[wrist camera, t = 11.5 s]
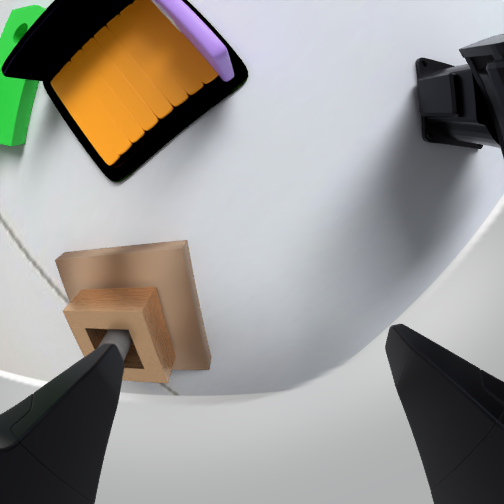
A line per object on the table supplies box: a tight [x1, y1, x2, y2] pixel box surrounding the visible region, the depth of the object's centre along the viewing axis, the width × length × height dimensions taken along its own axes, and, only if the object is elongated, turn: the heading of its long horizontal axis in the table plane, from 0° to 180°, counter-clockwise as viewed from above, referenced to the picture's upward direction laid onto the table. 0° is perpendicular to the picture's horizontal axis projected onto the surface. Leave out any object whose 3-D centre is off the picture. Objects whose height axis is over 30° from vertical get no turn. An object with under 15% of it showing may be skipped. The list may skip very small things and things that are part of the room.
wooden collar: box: [63, 287, 176, 383], centre depth 19 cm, size 6×6×3 cm
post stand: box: [55, 240, 211, 370], centre depth 19 cm, size 11×11×7 cm
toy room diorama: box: [1, 0, 248, 182], centre depth 12 cm, size 12×12×7 cm
